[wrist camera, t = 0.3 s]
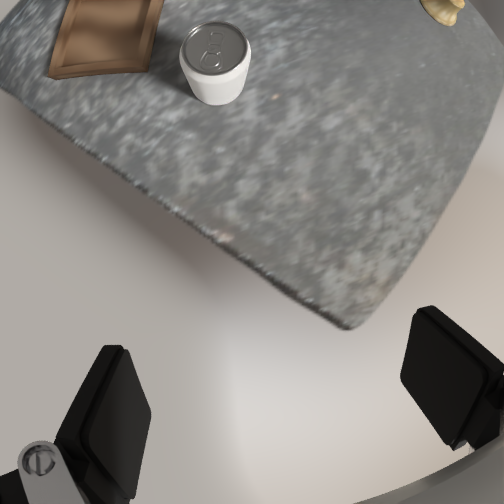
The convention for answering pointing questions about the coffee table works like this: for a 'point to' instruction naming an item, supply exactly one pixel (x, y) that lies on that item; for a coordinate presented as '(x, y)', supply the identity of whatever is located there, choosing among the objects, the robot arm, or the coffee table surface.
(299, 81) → the coffee table surface
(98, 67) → the tray
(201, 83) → the can
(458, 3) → the hand bell
